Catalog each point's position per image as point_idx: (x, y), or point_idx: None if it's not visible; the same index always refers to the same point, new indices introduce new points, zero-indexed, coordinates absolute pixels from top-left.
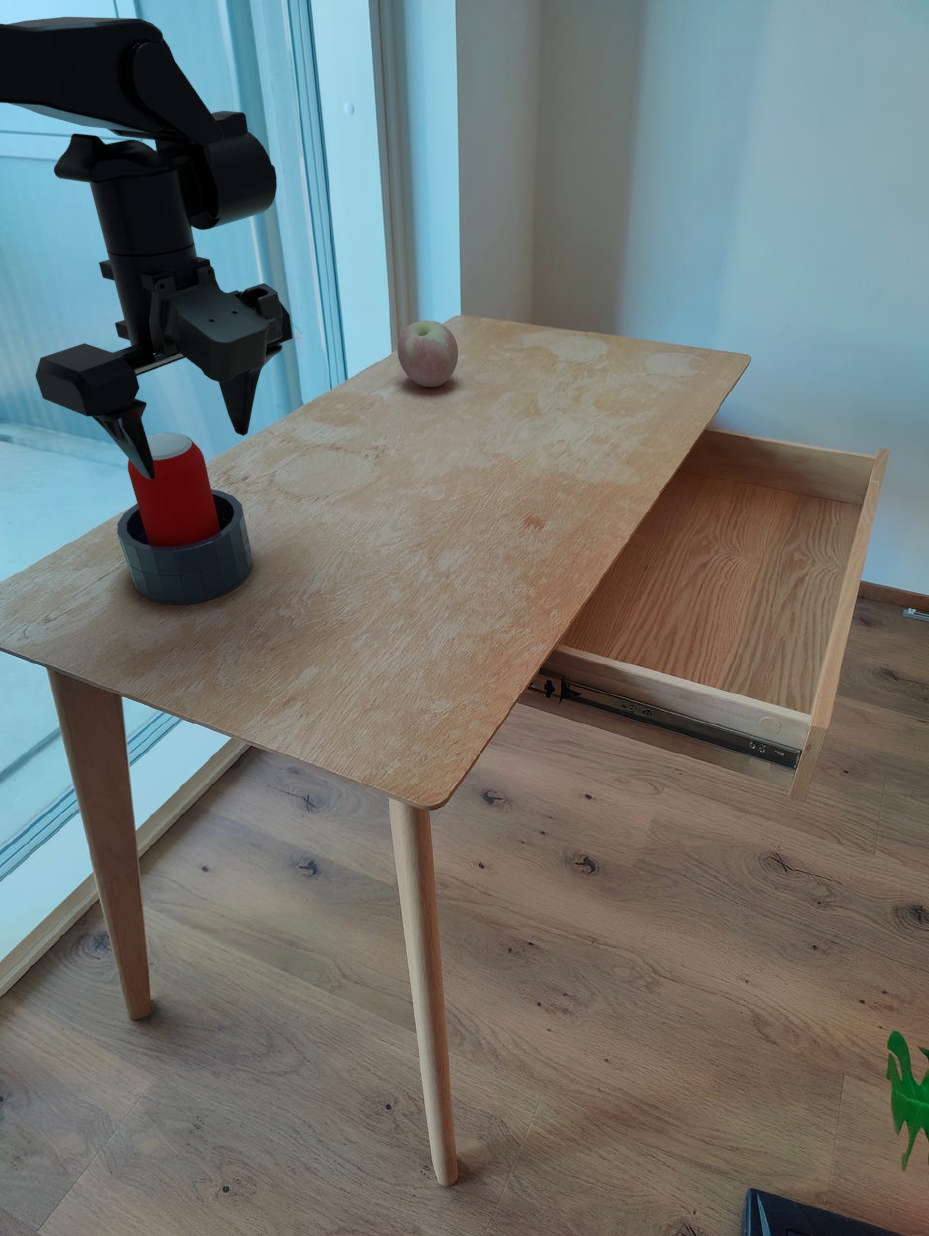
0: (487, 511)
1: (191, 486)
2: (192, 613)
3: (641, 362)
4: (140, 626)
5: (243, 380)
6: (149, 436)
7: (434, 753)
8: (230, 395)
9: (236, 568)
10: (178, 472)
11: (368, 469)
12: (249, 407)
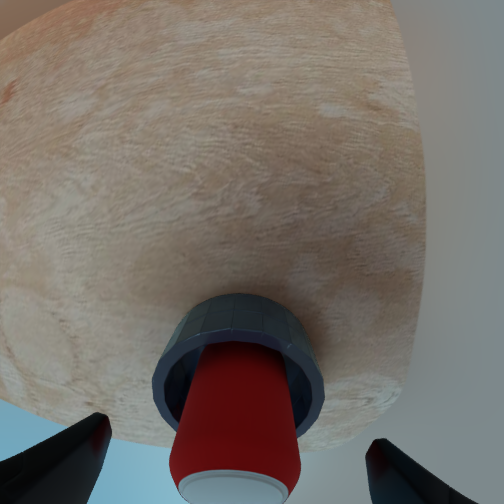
0: (3, 141)
1: (246, 415)
2: (308, 302)
3: None
4: (350, 332)
5: (23, 502)
6: None
7: None
8: (73, 495)
9: (235, 302)
10: (263, 445)
11: (7, 302)
12: (55, 444)
